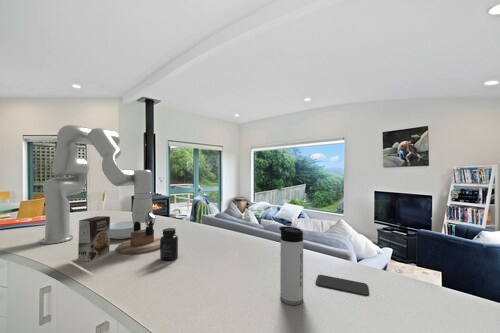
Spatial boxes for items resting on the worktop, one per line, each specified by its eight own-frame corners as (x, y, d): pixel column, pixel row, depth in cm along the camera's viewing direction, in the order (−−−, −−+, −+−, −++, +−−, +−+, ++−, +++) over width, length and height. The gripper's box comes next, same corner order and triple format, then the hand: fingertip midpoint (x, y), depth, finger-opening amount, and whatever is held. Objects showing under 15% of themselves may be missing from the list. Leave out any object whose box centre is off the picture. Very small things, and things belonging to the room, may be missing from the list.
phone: (369, 295, 65) (314, 283, 71) (369, 298, 65) (314, 286, 71) (367, 283, 72) (318, 273, 78) (367, 286, 72) (318, 276, 78)
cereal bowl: (97, 240, 115) (97, 226, 115) (125, 232, 131) (126, 219, 131) (121, 244, 109) (121, 229, 109) (148, 235, 124) (148, 222, 124)
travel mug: (277, 293, 66) (277, 224, 67) (299, 292, 67) (299, 224, 67) (281, 306, 60) (282, 230, 60) (306, 305, 61) (306, 229, 61)
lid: (108, 248, 102) (108, 232, 102) (149, 237, 119) (149, 223, 119) (133, 257, 91) (133, 240, 91) (174, 244, 108) (174, 229, 108)
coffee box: (91, 263, 87) (91, 220, 88) (77, 261, 89) (78, 220, 89) (110, 254, 96) (110, 216, 97) (97, 253, 98) (97, 215, 98)
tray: (105, 249, 102) (105, 248, 102) (150, 237, 120) (150, 236, 120) (131, 260, 90) (131, 258, 90) (177, 245, 108) (177, 244, 108)
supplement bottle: (181, 257, 93) (181, 228, 93) (169, 263, 87) (169, 232, 87) (168, 255, 96) (169, 226, 96) (156, 260, 90) (156, 230, 90)
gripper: (125, 196, 107) (125, 232, 107) (146, 198, 98) (146, 238, 97) (140, 194, 113) (140, 229, 113) (161, 196, 104) (161, 234, 104)
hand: (143, 233), depth 105 cm, fingers open, 9 cm apart
